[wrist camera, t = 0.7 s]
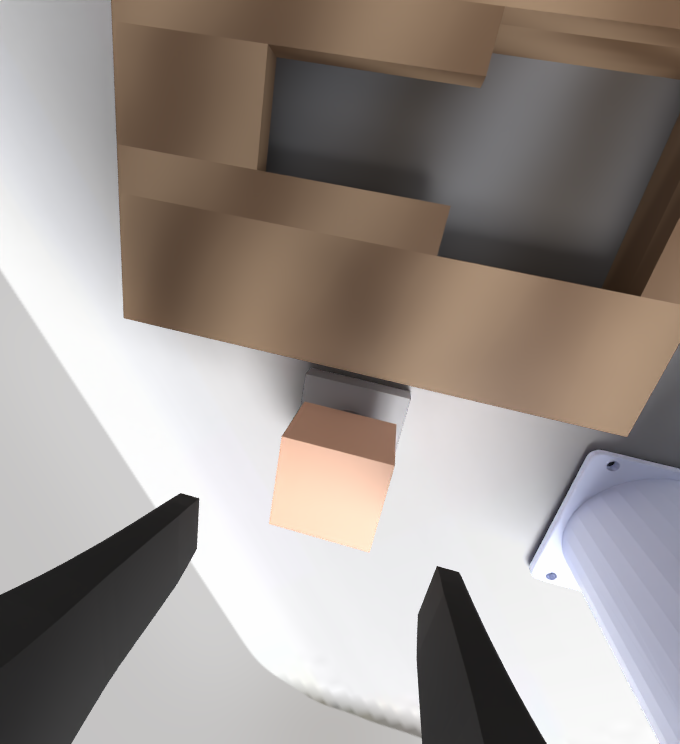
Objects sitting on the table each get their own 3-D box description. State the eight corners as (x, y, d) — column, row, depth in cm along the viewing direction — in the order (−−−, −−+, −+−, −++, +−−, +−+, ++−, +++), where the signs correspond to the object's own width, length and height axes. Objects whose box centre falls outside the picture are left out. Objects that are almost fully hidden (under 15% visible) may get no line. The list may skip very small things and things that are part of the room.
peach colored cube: (410, 390, 17) (413, 457, 12) (386, 474, 19) (379, 565, 13) (311, 367, 18) (269, 420, 12) (297, 451, 19) (255, 529, 14)
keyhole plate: (829, -100, 10) (1010, -249, 7) (585, 401, 16) (627, 437, 13) (175, -162, 12) (99, -298, 9) (171, 306, 18) (123, 318, 15)
